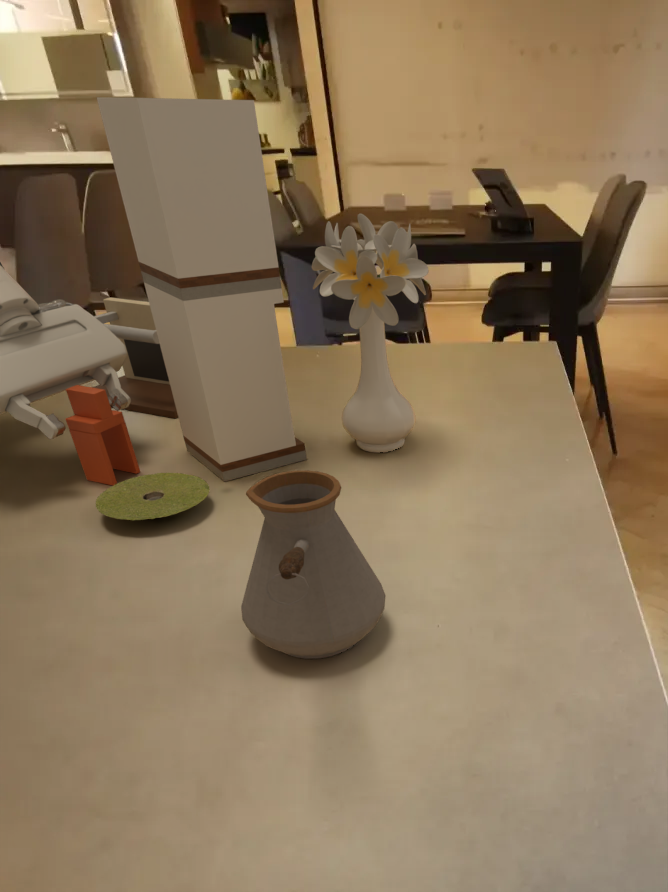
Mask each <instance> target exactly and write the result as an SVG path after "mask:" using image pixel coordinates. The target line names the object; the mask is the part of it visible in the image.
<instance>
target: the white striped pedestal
mask: <svg viewBox="0 0 668 892" xmlns="http://www.w3.org/2000/svg"><path fill="white" fill-rule="evenodd" d="M96 101H97V105H98V109H99V113H100V117H101V120H102V121H101V122H102V125H103V129H104V132H105V136H106V140H107V144H108V148H109V151H110V155H111V161H112V164H113V169H114V171H115V175H116V178H117V183H118V187H119V190H120V194H121V199H122V202H123V206H124V210H125V214H126V218H127V222H128V225H129V229H130V230H129V231H130V233H131V238H132V241H133V245H134V250H135V252H136V258H137V261H138V264H139V269H140V272H141V276H142V281H143V284H144V288H145V293H146V296H147V300H148V302H149V304H150V308H151V312H152V316H153V320H154V324H155V328H156V331H157V335H158V339H159V343H160V347H161V351H162V355H163V359H164V363H165V367H166V370H167V374H168V378H169V382H170V386H171V390H172V394H173V398H174V402H175V406H176V409H177V413H178V417H177V418H178V422H179V424H180V425H179V426H180V428H181V433H182V437H183V440H184V445H185V448H186V452H187V453H189V454H190V455H191V456H192V457H194V459H196V460H197V461H199V462H200V463H201V464H202V465H204V466H205V467H206V468H207V469H208V470H210V471H211V472H212V473H213V474H215V476H217V477H218V478H220V480H222V481H223V482H229V481H232V480H235V479H239V478H243V477H247V476H251V475H254V474H257V473H262V472H266V471H269V470H273V469H276V468H281V467H285V466H287V465H292V464H295V463H299V462H303V461H306V460H308V456H307V449H306V443H305V442H303V441H301V439H299V438H297V437H296V436H295V430H294V425H293V417H292V409H291V404H290V399H289V398H290V397H289V392H288V385H287V379H286V378H287V377H286V373H285V367H284V359H283V353H282V346H281V339H280V333H279V328H278V322H277V315H276V314H277V313H276V309H275V304H276V305H277V304H282V303H283V304H284V302H285V301H284V294H283V288H282V287H283V286H282V280H281V274H280V268H279V261H278V254H277V253H278V252H277V247H276V241H275V234H274V233H275V232H274V226H273V220H272V213H271V206H270V199H269V192H268V187H267V180H266V173H265V172H266V171H265V165H264V160H263V159H264V158H263V152H262V146H261V138H260V133H259V126H258V119H257V111H256V104H255V100H254V99H219V98H218V99H215V98H214V99H213V98H211V99H208V98H169V97H168V98H167V97H166V98H164V97H116V96H115V97H112V96H111V97H108V96H107V97H102V96H97V97H96Z"/></svg>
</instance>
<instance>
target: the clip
mask: <svg viewBox="0 0 668 892" xmlns="http://www.w3.org/2000/svg"><path fill="white" fill-rule="evenodd" d="M92 387H93V386H86V385H76V386H73V387H70V388H67V389H66V391H65V392H66V395H67V397H68V400H69V403H70V406H71V409H72V411H73V414H74V415H71V416H68V417H66V418H65V423H66V425H67V428H68V430H69V433H70V436H71V440H72V442H73V445H74V447H75V451H76V454H77V456H78V459H79V461H80V464H81V467H82V470H83V472H84V476H85V479H86V480H87V481H90V482H94V483H99V484H104V485H108V486H114V485H116V484H118V481H117V477H116V474H115V472H114V470H118V471H122V472H126V473H132V474H136V475H137V474H139V473H141V470H140V466H139V463H138V459H137V457H136V453H135V450H134V445H133V443H132V440H131V437H130V432H129V430H128V427H127V423H126V420H125V417H124V414H123V412H122V411H121V410H119V411H116V410H115V409H112V407H110V404H109V400H108V397H107V394H106V391H105V390H104V389H98V388H92Z"/></svg>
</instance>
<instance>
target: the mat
mask: <svg viewBox="0 0 668 892" xmlns="http://www.w3.org/2000/svg"><path fill="white" fill-rule="evenodd" d="M209 493H210V486H209V484H208V482H207V481H206V480H204V479H203V478H201V477H199V476H196V475H193V474H188V473H183V472H157V473H152V474H143V475H138V476H135V477H131V478H127V479H125V480H123V481H119V482H117V484H116V485H114V486H113V485H111V486H110V487H108V488H106V490H104V491H102V492H101V493H100V494H99V495H98V496H97V498H96V500H95V508H96V510H97V511H98V512H99V513H100V514H102V515H104V516H106V517H109V518H112V519H116V520H127V521H129V520H130V521H141V520H142V521H143V520H148V519H149V520H154V519H158V518H166V517H169V516H170V517H171V516H173V515H177V514H179V513H181V512H185V511H187V510H189V509H192V508H193V507H194V506H197V505H198V504H201V502H203V501H204V500H205V499H206V498H207V497H208V495H209Z"/></svg>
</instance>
